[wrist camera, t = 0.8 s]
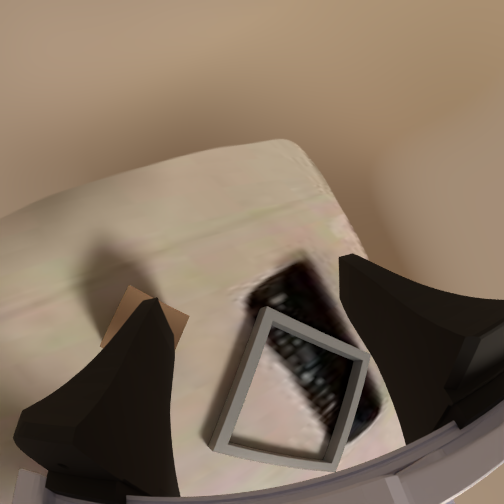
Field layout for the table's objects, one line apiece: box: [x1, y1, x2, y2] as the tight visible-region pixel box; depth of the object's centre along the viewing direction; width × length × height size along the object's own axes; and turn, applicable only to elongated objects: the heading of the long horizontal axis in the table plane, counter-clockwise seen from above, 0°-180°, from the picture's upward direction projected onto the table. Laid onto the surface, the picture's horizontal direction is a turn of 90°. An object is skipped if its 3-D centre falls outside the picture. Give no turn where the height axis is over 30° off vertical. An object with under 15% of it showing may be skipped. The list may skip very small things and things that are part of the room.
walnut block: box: [100, 285, 189, 349], centre depth 20 cm, size 4×4×6 cm
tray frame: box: [208, 306, 371, 472], centre depth 26 cm, size 14×14×2 cm
